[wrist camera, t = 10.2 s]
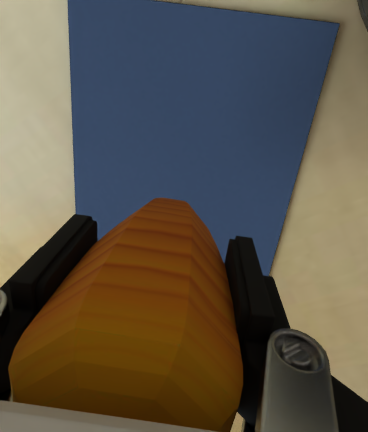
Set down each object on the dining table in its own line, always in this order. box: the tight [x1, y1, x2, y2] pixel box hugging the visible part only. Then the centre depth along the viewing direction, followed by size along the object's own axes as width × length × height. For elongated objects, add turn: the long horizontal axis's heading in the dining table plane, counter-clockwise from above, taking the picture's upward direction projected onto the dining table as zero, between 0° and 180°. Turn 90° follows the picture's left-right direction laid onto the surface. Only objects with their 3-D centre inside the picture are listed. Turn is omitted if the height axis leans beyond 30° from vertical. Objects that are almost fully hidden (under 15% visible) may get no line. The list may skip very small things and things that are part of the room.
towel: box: [68, 0, 340, 276], centre depth 22 cm, size 20×16×1 cm
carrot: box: [8, 197, 243, 432], centre depth 9 cm, size 5×5×15 cm
